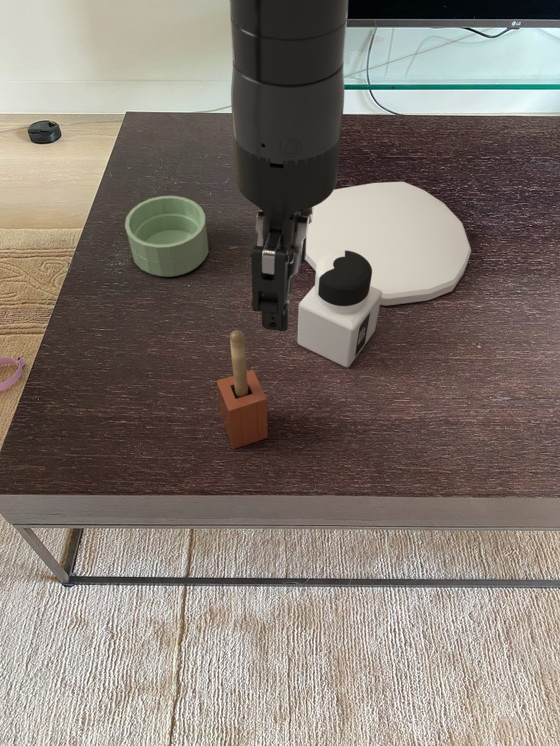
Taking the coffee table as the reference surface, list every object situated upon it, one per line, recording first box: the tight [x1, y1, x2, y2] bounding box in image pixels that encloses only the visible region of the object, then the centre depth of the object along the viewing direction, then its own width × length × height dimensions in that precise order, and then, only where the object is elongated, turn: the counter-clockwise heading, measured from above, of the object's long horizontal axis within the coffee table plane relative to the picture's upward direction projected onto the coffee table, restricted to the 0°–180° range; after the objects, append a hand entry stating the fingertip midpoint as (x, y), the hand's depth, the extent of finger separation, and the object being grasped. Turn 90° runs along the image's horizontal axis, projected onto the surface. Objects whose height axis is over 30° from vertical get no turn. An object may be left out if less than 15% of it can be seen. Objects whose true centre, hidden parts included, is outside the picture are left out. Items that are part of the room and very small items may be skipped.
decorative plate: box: [304, 181, 472, 307], centre depth 91 cm, size 25×4×25 cm
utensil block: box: [216, 369, 269, 450], centre depth 70 cm, size 4×4×8 cm
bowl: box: [124, 195, 210, 278], centre depth 90 cm, size 11×11×6 cm
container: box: [296, 250, 382, 368], centre depth 77 cm, size 8×8×13 cm
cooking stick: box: [229, 329, 248, 399], centre depth 66 cm, size 1×1×17 cm
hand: (284, 292), depth 55 cm, fingers open, 8 cm apart
